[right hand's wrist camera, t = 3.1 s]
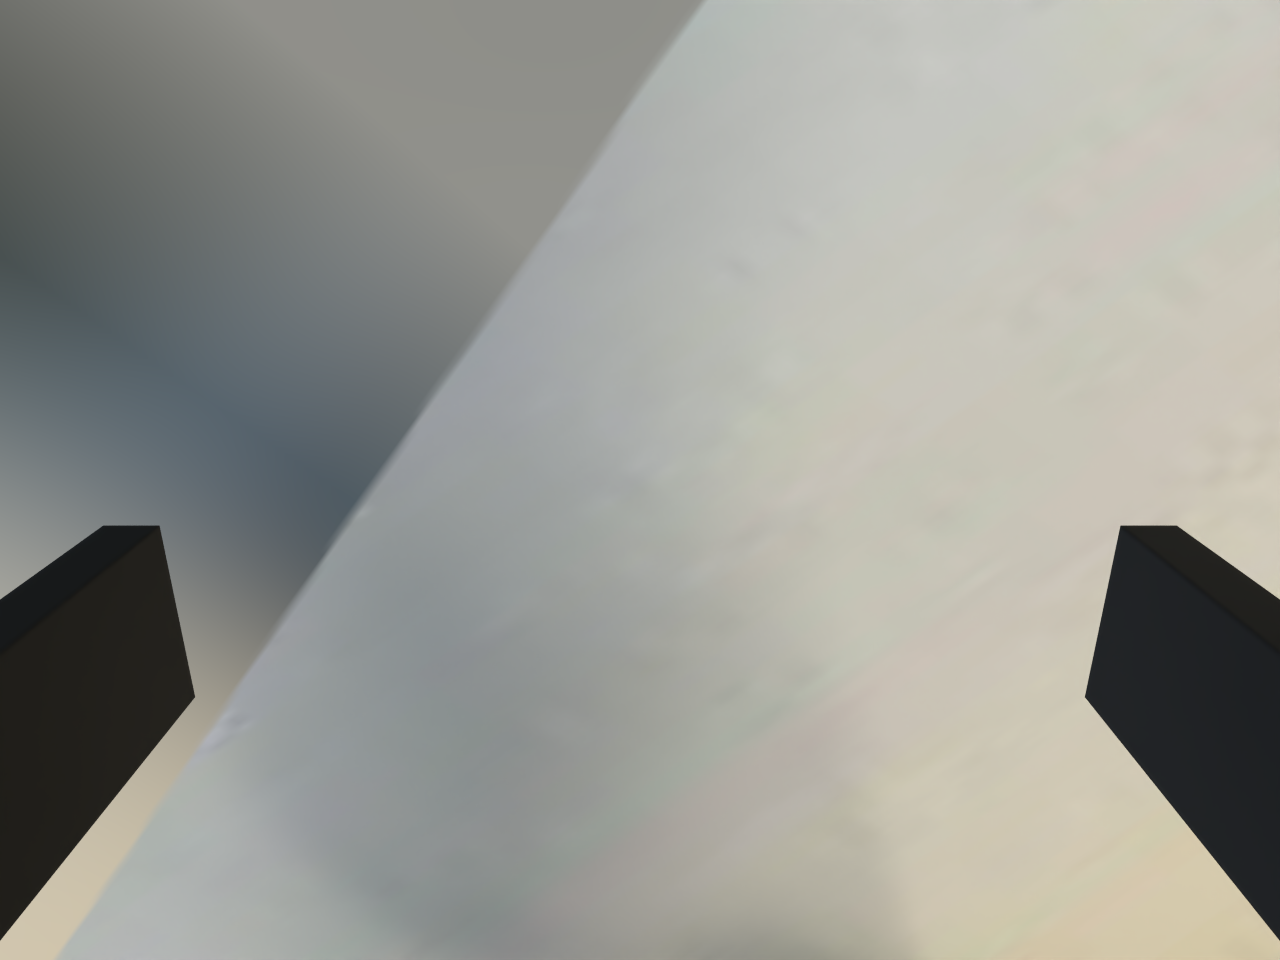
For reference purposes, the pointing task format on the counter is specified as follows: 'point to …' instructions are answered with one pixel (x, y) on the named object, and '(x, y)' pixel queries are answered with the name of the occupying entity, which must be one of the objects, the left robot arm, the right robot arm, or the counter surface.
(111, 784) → the right robot arm
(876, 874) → the counter surface
